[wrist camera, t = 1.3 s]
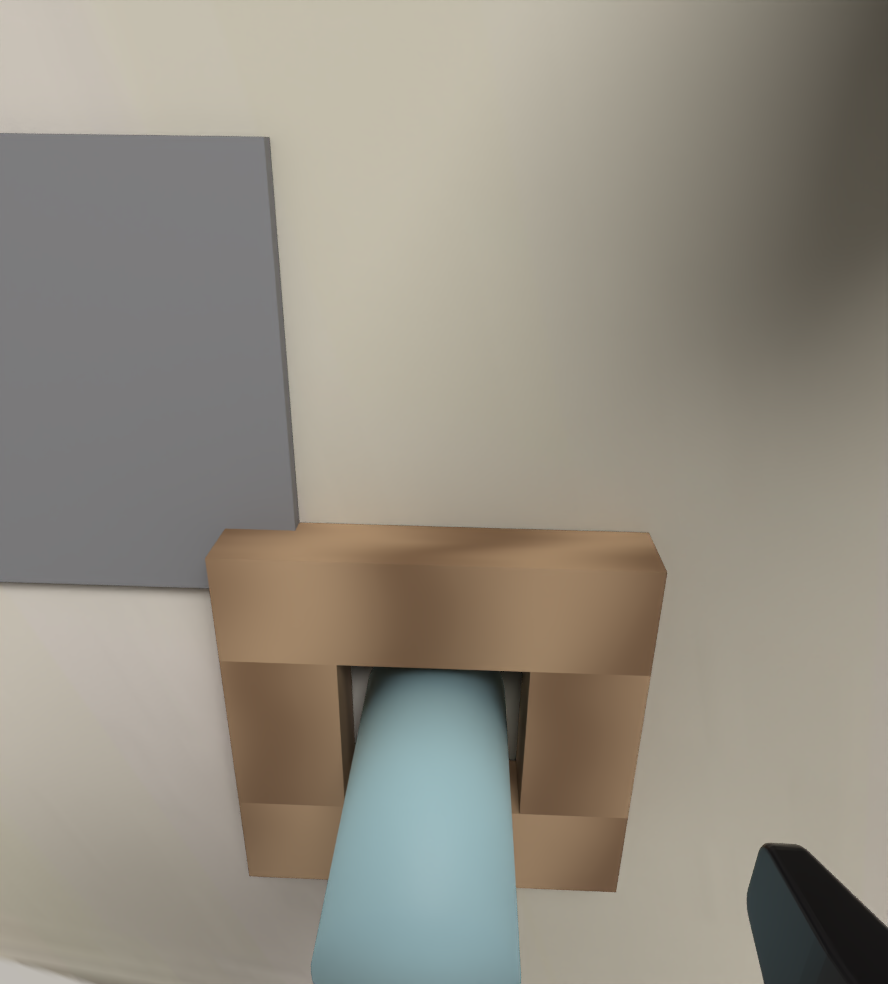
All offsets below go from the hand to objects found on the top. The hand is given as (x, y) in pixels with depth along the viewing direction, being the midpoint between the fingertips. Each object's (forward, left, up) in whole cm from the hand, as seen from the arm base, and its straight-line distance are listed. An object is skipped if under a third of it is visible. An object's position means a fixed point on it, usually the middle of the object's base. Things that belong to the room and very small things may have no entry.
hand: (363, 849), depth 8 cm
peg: (0, +8, -13) cm, 15 cm away
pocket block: (0, +8, -13) cm, 15 cm away
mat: (+10, -2, -13) cm, 16 cm away
